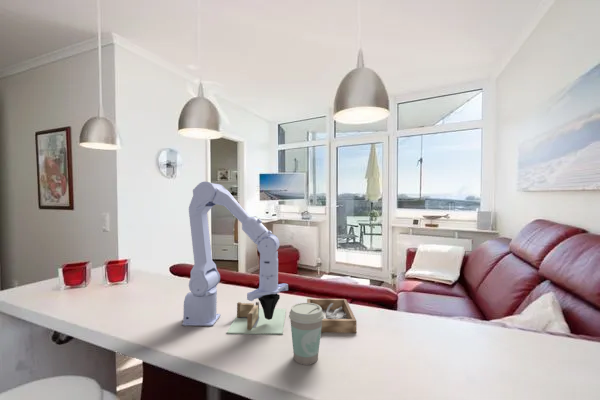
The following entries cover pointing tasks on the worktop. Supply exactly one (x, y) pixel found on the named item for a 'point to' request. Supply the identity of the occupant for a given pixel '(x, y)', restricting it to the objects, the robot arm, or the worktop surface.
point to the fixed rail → (245, 309)
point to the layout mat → (260, 324)
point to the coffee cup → (306, 331)
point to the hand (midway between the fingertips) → (268, 318)
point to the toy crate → (336, 324)
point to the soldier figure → (334, 313)
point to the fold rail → (252, 317)
